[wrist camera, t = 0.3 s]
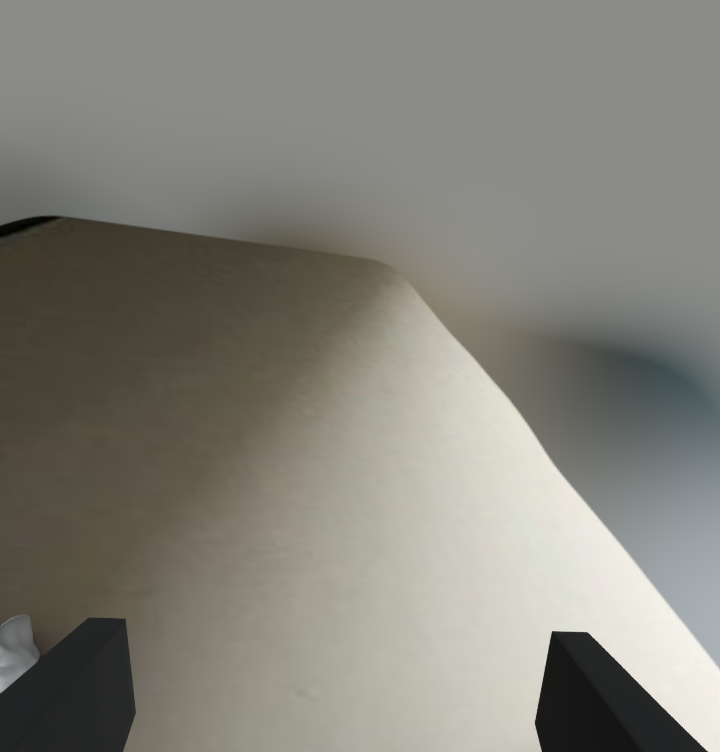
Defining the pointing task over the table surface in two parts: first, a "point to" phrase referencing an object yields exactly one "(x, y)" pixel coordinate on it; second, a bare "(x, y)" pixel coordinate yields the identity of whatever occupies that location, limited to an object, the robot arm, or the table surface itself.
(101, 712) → the robot arm
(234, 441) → the table surface
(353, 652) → the table surface
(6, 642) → the gray elephant figurine
